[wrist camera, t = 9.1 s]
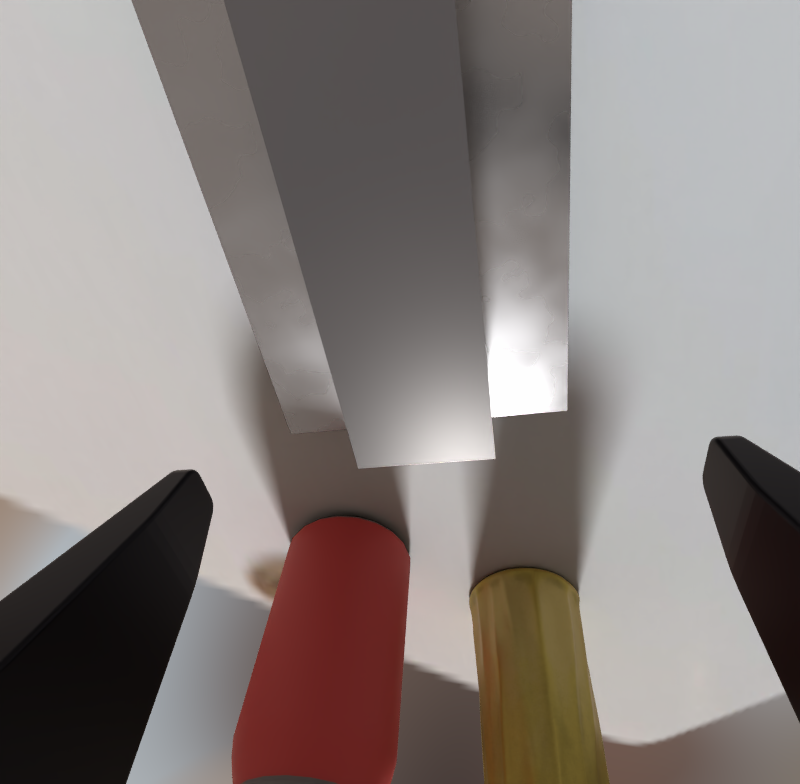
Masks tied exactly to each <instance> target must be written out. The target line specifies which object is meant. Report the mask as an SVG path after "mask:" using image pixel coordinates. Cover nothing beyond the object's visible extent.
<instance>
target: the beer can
mask: <svg viewBox="0 0 800 784" xmlns="http://www.w3.org/2000/svg"><path fill="white" fill-rule="evenodd" d="M409 575H410V556H409V554H408V552H407V550H406V548H405V545H404V543H403V542H402V541H401V540H400V539H399V538H398V537H397V536H396V535H395V534H394V533H393V532H392V531H391V530H389V529H387V528H386V527H384V526H382V525H380V524H378V523H376V522H374V521H370V520H367V519H363V518H360V517H353V516H333V517H327V518H321V519H319V520H317V521H315V522H312V523H310V524H308V525H306V526H304V527H303V528H302V529H301V530H300V531H299V532H298V533H297V534H296V535H295V536H294V537H293V538H292V541H291V544H290V547H289V550H288V553H287V557H286V560H285V564H284V567H283V570H282V574H281V577H280V581H279V584H278V587H277V591H276V594H275V597H274V601H273V604H272V608H271V611H270V614H269V618H268V621H267V625H266V628H265V631H264V635H263V638H262V642H261V645H260V648H259V652H258V655H257V659H256V663H255V665H254V669H253V672H252V676H251V679H250V682H249V686H248V689H247V693H246V696H245V700H244V703H243V706H242V710H241V713H240V716H239V720H238V723H237V727H236V730H235V733H234V738H233V748H232V776H233V777H232V778H233V784H390V783H391V781H392V777H393V773H394V769H395V765H396V761H397V746H398V732H399V718H400V704H401V690H402V674H403V661H404V647H405V632H406V618H407V604H408V589H409Z"/></svg>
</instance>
